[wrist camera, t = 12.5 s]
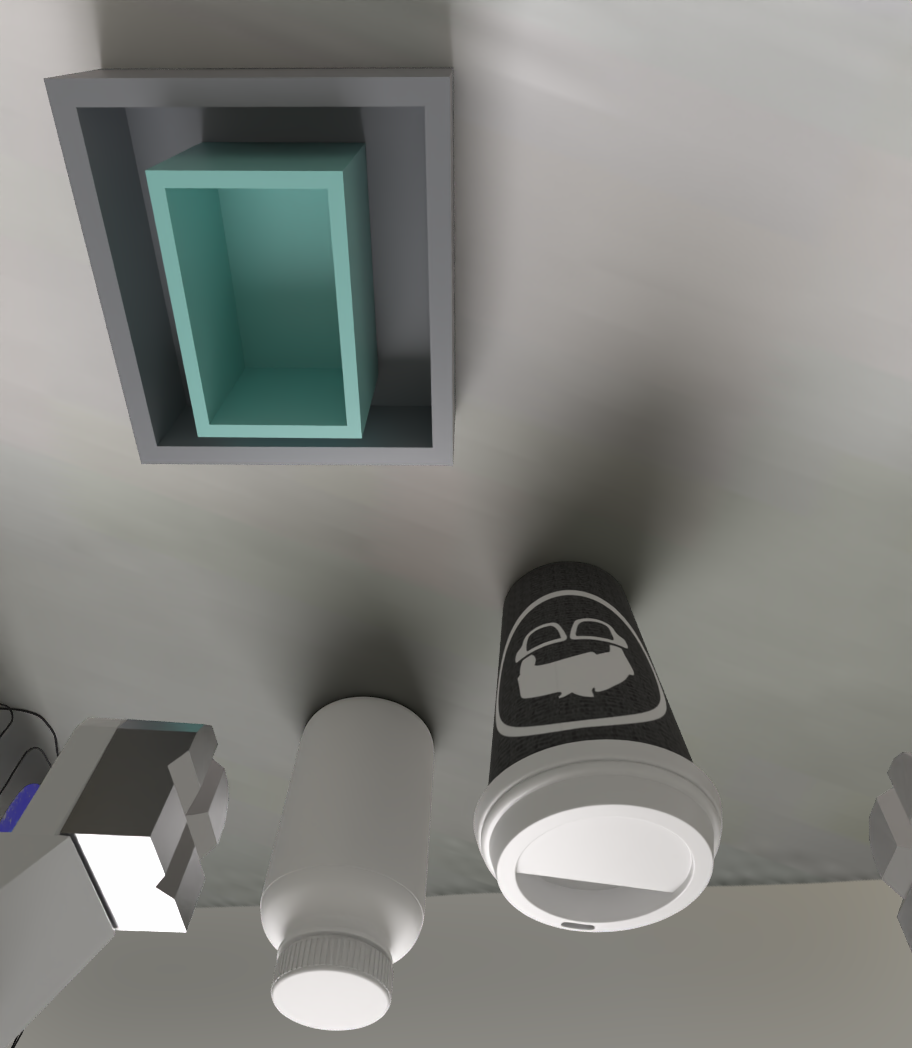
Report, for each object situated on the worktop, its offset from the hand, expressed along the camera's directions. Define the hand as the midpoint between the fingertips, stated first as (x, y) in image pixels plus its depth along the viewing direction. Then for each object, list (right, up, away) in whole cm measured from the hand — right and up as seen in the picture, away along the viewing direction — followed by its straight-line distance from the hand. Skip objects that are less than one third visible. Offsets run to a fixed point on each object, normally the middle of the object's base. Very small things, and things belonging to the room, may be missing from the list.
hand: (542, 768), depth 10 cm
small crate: (-7, +13, +22) cm, 26 cm away
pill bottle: (-6, -10, +38) cm, 39 cm away
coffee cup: (+5, -1, +32) cm, 32 cm away
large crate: (-7, +14, +22) cm, 27 cm away
